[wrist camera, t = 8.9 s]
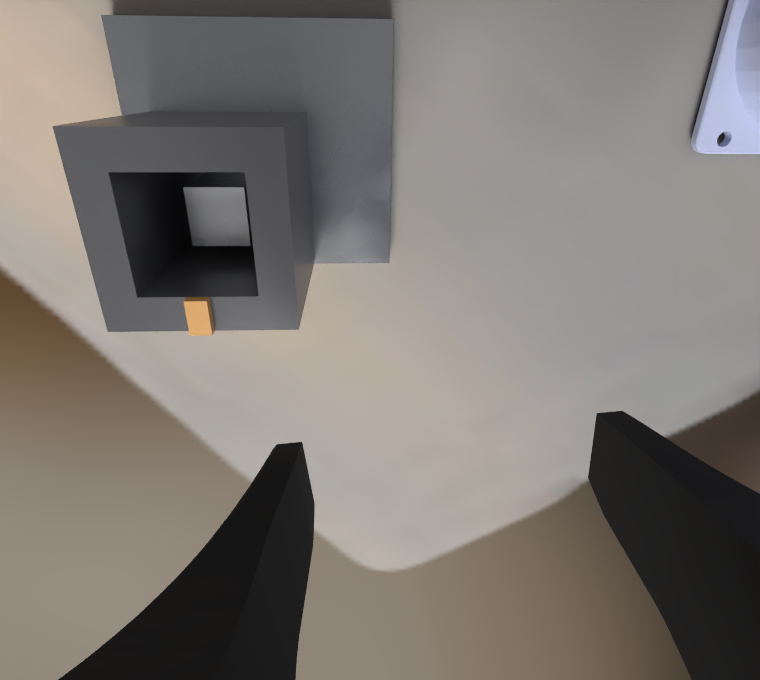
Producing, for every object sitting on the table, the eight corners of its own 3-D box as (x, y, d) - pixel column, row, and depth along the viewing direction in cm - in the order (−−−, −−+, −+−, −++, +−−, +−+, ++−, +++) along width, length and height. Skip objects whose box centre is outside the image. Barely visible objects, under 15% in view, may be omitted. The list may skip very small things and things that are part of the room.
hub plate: (392, 21, 17) (393, 19, 16) (388, 256, 20) (389, 263, 20) (112, 17, 16) (101, 14, 15) (160, 257, 20) (152, 264, 19)
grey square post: (264, 167, 18) (244, 187, 15) (269, 217, 19) (250, 246, 16) (214, 167, 18) (183, 187, 15) (221, 217, 19) (192, 246, 16)
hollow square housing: (306, 112, 17) (281, 128, 11) (314, 260, 19) (297, 334, 14) (149, 111, 17) (45, 127, 11) (176, 261, 19) (102, 337, 14)
